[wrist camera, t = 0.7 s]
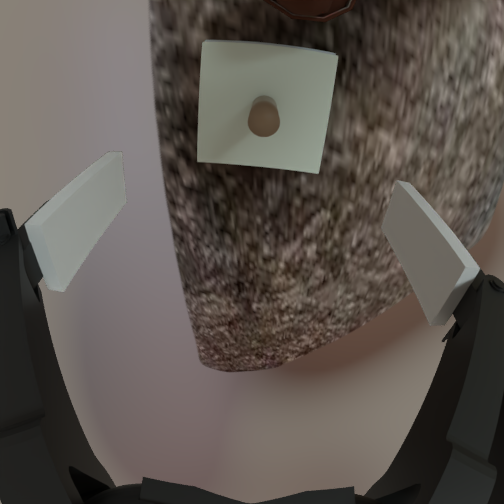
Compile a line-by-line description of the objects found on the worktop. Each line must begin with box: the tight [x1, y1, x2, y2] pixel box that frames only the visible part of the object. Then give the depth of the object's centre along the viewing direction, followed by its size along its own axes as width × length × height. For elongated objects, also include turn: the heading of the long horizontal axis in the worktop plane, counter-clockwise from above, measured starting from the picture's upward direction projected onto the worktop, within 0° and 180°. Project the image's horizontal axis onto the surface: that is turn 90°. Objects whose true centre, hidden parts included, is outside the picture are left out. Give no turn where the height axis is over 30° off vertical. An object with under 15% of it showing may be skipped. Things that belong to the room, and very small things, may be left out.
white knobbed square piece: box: [197, 42, 338, 174], centre depth 31 cm, size 16×16×13 cm
